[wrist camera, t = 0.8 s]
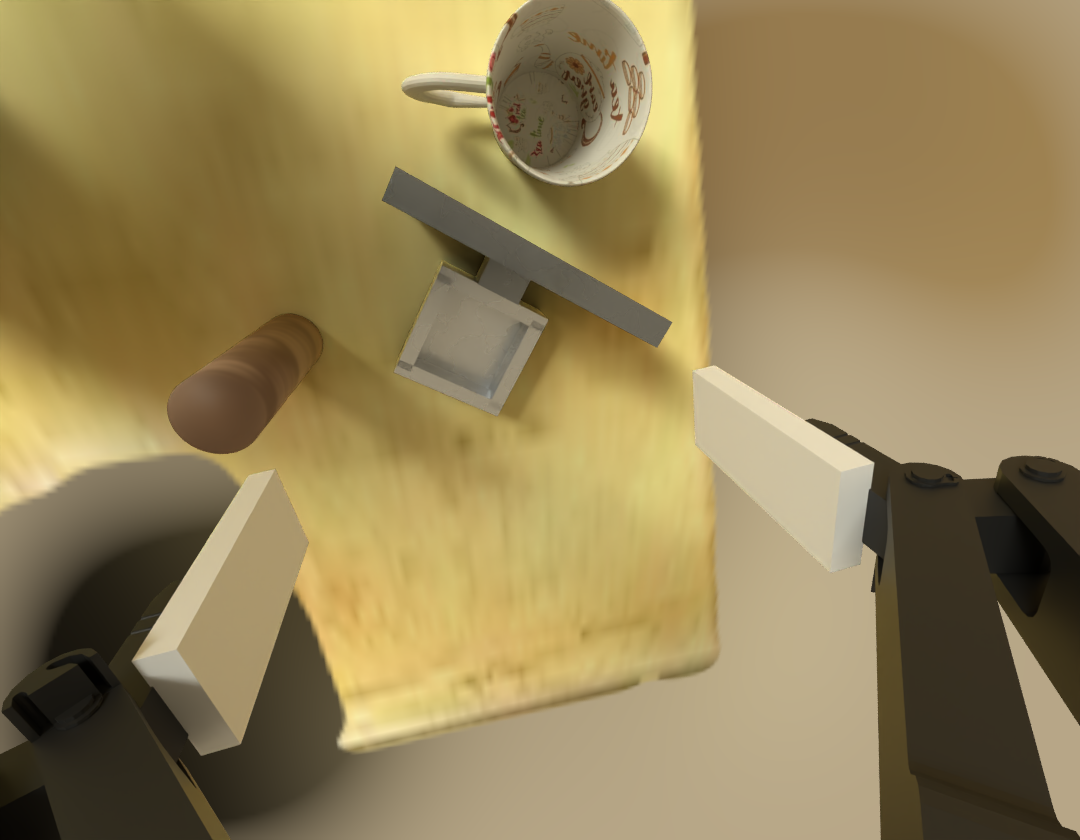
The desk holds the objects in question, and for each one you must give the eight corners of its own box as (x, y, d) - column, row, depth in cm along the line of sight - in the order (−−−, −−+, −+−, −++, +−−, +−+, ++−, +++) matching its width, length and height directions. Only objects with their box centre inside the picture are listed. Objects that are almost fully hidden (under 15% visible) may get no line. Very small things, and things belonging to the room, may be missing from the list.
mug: (592, 193, 37) (642, 190, 27) (410, 182, 34) (398, 175, 25) (603, 53, 33) (664, -2, 24) (404, 30, 31) (388, -40, 22)
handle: (255, 354, 37) (157, 435, 24) (273, 304, 36) (181, 360, 23) (311, 377, 38) (246, 465, 25) (331, 329, 37) (273, 396, 24)
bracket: (344, 335, 37) (305, 390, 26) (410, 177, 34) (395, 166, 23) (536, 418, 42) (569, 493, 32) (608, 289, 39) (672, 322, 28)
